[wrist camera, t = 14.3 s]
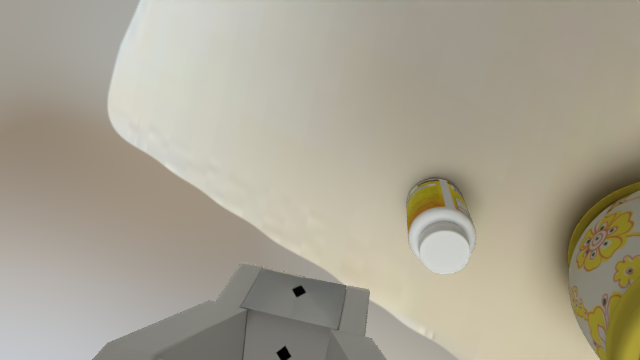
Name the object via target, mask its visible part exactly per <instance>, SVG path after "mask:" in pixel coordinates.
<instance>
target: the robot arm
mask: <svg viewBox="0 0 640 360" xmlns="http://www.w3.org/2000/svg"><path fill="white" fill-rule="evenodd" d="M346 287H347V289H346ZM369 294H370V291H369V289H364V288H359V287H353V286H346V285H341V284H336V283H331V282H326V281H322V280H316V279H312V278H307V277H305V276H301V275H297V274H293V273H288V272H285V271H280V270H276V269H272V268H268V267H263V266H260V265H255V264H251V263H246V262H243V263H241V264H240V265H239V267H238V268H237V270H236V271H235V273H234V274H233V276H232V277H231V279H230V280H229V282H228V283H227V285H226V286H225V288H224V290H223V291H222V293H221V294H220V296H219V297H218V299H217V300H216V302H215V301H210V300H209V301H207V302H204V303H202V304H199V305H197V306H195V307H192V308H190V309H188V310H185V311H183V312H180V313H178V314H176V315H173V316H171V317H168V318H166V319H164V320H161V321H159V322H157V323H154V324H152V325H149V326H147V327H145V328H142V329H140V330H137V331H135V332H133V333H130V334H128V335H126V336H123V337H121V338H119V339H116V340H114V341H111V342H109V343H107V344H106V345H105V346H104V347H103V349H101V351H100V352H99V353H98V354H97V355H96V356H95V357H94V358H93V359H92V360H386V358H385V357H384V355H383V354H382V352H381V351H380V350H379V348H378V347H377V345H376V344H375V342H374V341H373V340H372V338H368V337H365V333H366V323H367V314H368V304H369ZM343 303H344V304H343Z"/></svg>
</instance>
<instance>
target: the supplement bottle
mask: <svg viewBox="0 0 640 360" xmlns="http://www.w3.org/2000/svg"><path fill="white" fill-rule="evenodd" d="M406 208H407V226H408V240H409V245H410V248H411V250H412V252H413V253H414V255H415V256H416V257H417V258H418V259H419V260H420V261H422V263H423V264H424V265H425V266H426V267H427V268H428V269H429V270H431V271H433V272H435V273H438V274H452V273H455V272H458V271H460V270H461V269H462V268H464V267H465V266H466V264H467V263H468V261H469V259H470V255H471V253H472V251H473V250H474V247H475V244H476V231H475V227H474V225H473V222H472V219H471V217H470V214H469V212H468V209H467V207H466V204H465V201H464V199H463V196H462V194H461V192H460V191H459V189H458V188H457V187H456V186H455V185H454V184H452V183H450V182H448V181H446V180H443V179H428V180H425V181H422V182H420V183H419V184H417V185H416V186H415V187H414V188H413V189H412V190H411V192H410V193H409V195H408V198H407V204H406Z"/></svg>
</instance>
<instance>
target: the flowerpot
mask: <svg viewBox="0 0 640 360" xmlns="http://www.w3.org/2000/svg"><path fill="white" fill-rule="evenodd" d="M568 265H569V294H570V300H571V304H572V308H573V311H574V314H575V317H576V319H577V321H578V324H579V326H580V328H581V330H582V332H583V334H584V335H585V337H586V339H587V341H588V342H589V344H590V345H591V347H592V348H593V350H594V351H595V353H596V354H597V356H598V357H599V358H600V360H640V182H637V183H634V184H631V185H628V186H626V187H623V188H621V189H619V190H616V191H615V192H613V193H611V194H609V195H607V196H606V197H604V198H603V199H601V200H600V201H599V202H597V203H596V204H595V205H594V206H593V207H592V208H591V209H589V211H588V212H587V213H586V214H585V215H584V216H583V217H582V219H581V220H580V221H579V223H578V224H577V226H576V228H575V230H574V232H573V234H572V237H571V239H570V243H569V248H568Z"/></svg>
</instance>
